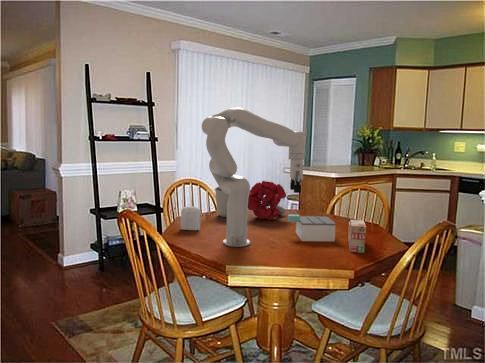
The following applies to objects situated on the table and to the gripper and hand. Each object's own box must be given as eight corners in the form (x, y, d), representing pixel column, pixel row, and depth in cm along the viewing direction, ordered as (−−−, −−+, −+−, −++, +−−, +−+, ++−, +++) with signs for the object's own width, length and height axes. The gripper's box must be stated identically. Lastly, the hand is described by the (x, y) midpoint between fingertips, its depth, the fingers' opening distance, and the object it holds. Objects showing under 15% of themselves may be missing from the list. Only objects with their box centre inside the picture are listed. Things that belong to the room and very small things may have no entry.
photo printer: (200, 229, 216) (201, 206, 214) (199, 231, 212) (199, 207, 210) (181, 228, 217) (182, 205, 215) (179, 230, 213) (180, 206, 211)
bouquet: (261, 223, 262) (234, 205, 241) (275, 190, 267) (250, 170, 246) (287, 232, 248) (261, 213, 226) (302, 197, 253) (278, 176, 231)
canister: (213, 212, 260) (214, 179, 257) (242, 212, 261) (243, 180, 258) (213, 218, 242) (214, 183, 239) (244, 219, 243) (245, 184, 240)
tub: (334, 241, 198) (335, 225, 197) (302, 241, 197) (302, 224, 196) (325, 233, 214) (326, 218, 213) (295, 232, 213) (296, 217, 212)
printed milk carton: (347, 239, 202) (349, 215, 200) (360, 240, 201) (362, 216, 199) (349, 252, 181) (351, 225, 180) (364, 253, 180) (366, 226, 178)
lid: (291, 224, 195) (291, 218, 195) (285, 217, 212) (285, 211, 211) (336, 225, 197) (336, 219, 196) (327, 218, 213) (327, 212, 213)
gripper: (307, 158, 191) (306, 194, 194) (300, 155, 209) (299, 188, 211) (291, 157, 191) (290, 193, 193) (285, 155, 208) (284, 188, 210)
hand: (295, 191), depth 202 cm, fingers open, 9 cm apart
